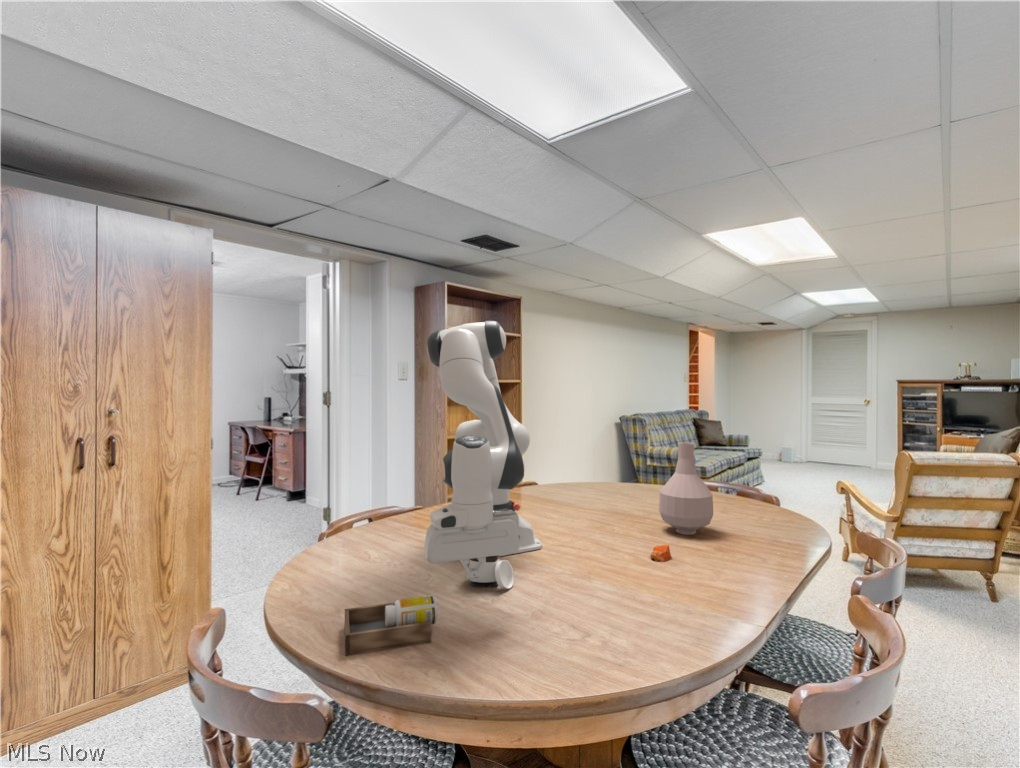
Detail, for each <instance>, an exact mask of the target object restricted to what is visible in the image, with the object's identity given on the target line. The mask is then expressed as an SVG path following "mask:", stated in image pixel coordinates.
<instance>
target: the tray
mask: <svg viewBox="0 0 1020 768" xmlns="http://www.w3.org/2000/svg"><path fill="white" fill-rule="evenodd" d="M388 605H395V602H387V603H381V604H374V605H367V606H358V607H352V608H351V607H350V608H344V655H345V657H349V656H354V655H355V656H357V655H363V654H368V653H375V652H381V651H387V650H393V649H394V650H395V649H399V648H406V647H411V646H413V647H414V646H420V645H424V644H431V643H432V624H431V622H424V623H417V624H410V625H403V626H395V625H394V626H392V627H391V626H390V627H386V623H385V606H388Z"/></svg>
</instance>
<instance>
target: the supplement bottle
mask: <svg viewBox="0 0 1020 768" xmlns="http://www.w3.org/2000/svg"><path fill="white" fill-rule="evenodd" d="M394 603H395V605H388V606H385V623H386V627H390V626H391V627H392V626H394V625H395V626H403V625H410V624H417V623H424V622H431V625H435V624H437V623H438V621H439V605H438V601H437V597H436V596H435V595H432V594H431V595H430V594H429V595H424V596H417V597H409V598H402V599H397V600H395V602H394Z"/></svg>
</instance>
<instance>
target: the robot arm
mask: <svg viewBox="0 0 1020 768" xmlns="http://www.w3.org/2000/svg"><path fill="white" fill-rule="evenodd" d="M426 341H427V342H426V352H427V355H428V358H429V359H430V362H431V363H432V365H434V366H435V367H438V368H439V378H440V380H439V381H440V385H441V389H442V391H443V393H444V394H445V396H447V398H449V399H450V400H452V401H453V402H455V403H457V405H461V406H465V407H466V408H467V410H469V411H470V412H471V413H472V414H474V415H475V416H476V417H477V418H478V419H471V420H468V421H464V422H463V421H462V422H461V423H460V424H459V425H458V426H457V428H456V430H455V433H454V441H453V445H452V449H450V450H449V451H448V452H446V455H444V456H443V457H442V460H443V461H442V462H443V469H444V472H443V475H444V476H443V482H444V483H445V484H446V485H447V486H448V487H449V488H451V489H452V494H451V503H450V504H448V505H445V506H443V507H441V508H438V509H436V510H433V511H432V512H431V513H430V514H429V519H430V523H431V524H430V525H429V526H428V527H427V530H426V533H425V542H424V557H425V560H426V561H427V562H428V563H429V564H440V563H449V562H450V563H451V562H457V561H460V563H461V565H462V566H463V568H464V569H465V578H466V580H470V579H475V578H481V570H482V568H483V566H484V564H485V562H486V557H489V556H497V555H500V557H504V556H508V555H509V556H510V555H514V554H519V553H521V554H522V553H527V552H531V551H535V550H540V549H542V546H543V545H542V542H541V540H540V539H539V538H537V536H535V534H534V529H533V526H532V525H531V523H530V522H529V521H528V520H527V519H525V518H524V517H522V516H521V515H520V514H518V513H517V512H518V511H520V509H521V505H520V504H519V503H518V502H514V501H513V500H511V499H510V490H513V489H514V488H515V487H517V486H518V485H519V484H520V482H522V481H523V479H524V476H525V462H524V458H523V455H525V453H526V452H527V450H528V449H529V446H530V440H531V439H530V433H529V431H528V429H527V427H526V426H525V425H523V424H522V423H521V422H519V421H518V419H516V417H514V416H513V414H512V413H511V411H510V410H509V408H508V407H507V405H506V403H505V401H504V398H503V396H502V393H501V387H500V384H499V379H498V374H497V370H496V365H495V362H494V360H495V361H496V360H497V358H499V357H501V356H502V355H503V354H504V353H505V351H506V345H507V335H506V332H505V330H504V328H503V327H502V326H501V323H499V322H498V321H496V320H485V321H481V322H478V321H477V322H469V323H462V324H461V325H456V326H452V327H449V328H445V329H439V330H436V331H434V332H432V333H430V335H429V336H428V338H427V340H426ZM473 558H477V559H478V560H479V562H478V564H477V566H476V568H470V567H469V566H468V565H470V559H473Z"/></svg>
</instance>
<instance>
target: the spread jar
mask: <svg viewBox="0 0 1020 768" xmlns="http://www.w3.org/2000/svg"><path fill="white" fill-rule="evenodd" d="M478 562H479V560H478V559H477V558H473V559H469V568H476V566H477V564H478ZM469 582H470V584H471V585H472V586H474V587H477V588H485V589H486V588H492V587H495V586H497V585H498V587H499V588H500V589H501V590H507V589H511V588H512V587H513V586H514V583H515V573H514V569H513V566H512V564H511V562H510V561H509V560H507V559H502V560H501V556H500V555H497V556H489V557H486V562H485V564H484V566H483V568H482V570H481V578H475V579H469Z"/></svg>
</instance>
